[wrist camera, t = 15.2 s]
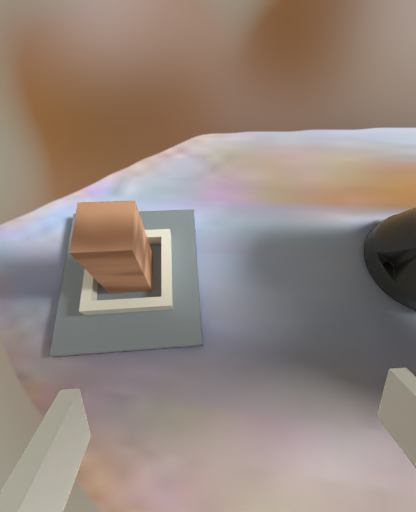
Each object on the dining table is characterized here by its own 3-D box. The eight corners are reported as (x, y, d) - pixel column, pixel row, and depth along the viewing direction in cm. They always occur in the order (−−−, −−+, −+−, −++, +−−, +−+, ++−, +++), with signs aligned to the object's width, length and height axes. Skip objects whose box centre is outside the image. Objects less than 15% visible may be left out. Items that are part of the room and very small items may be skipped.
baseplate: (76, 218, 40) (67, 205, 37) (193, 214, 41) (193, 201, 38) (54, 356, 31) (39, 354, 28) (202, 345, 33) (203, 342, 30)
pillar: (112, 255, 36) (77, 202, 25) (152, 253, 36) (134, 200, 26) (109, 293, 34) (69, 252, 23) (151, 290, 34) (132, 250, 23)
